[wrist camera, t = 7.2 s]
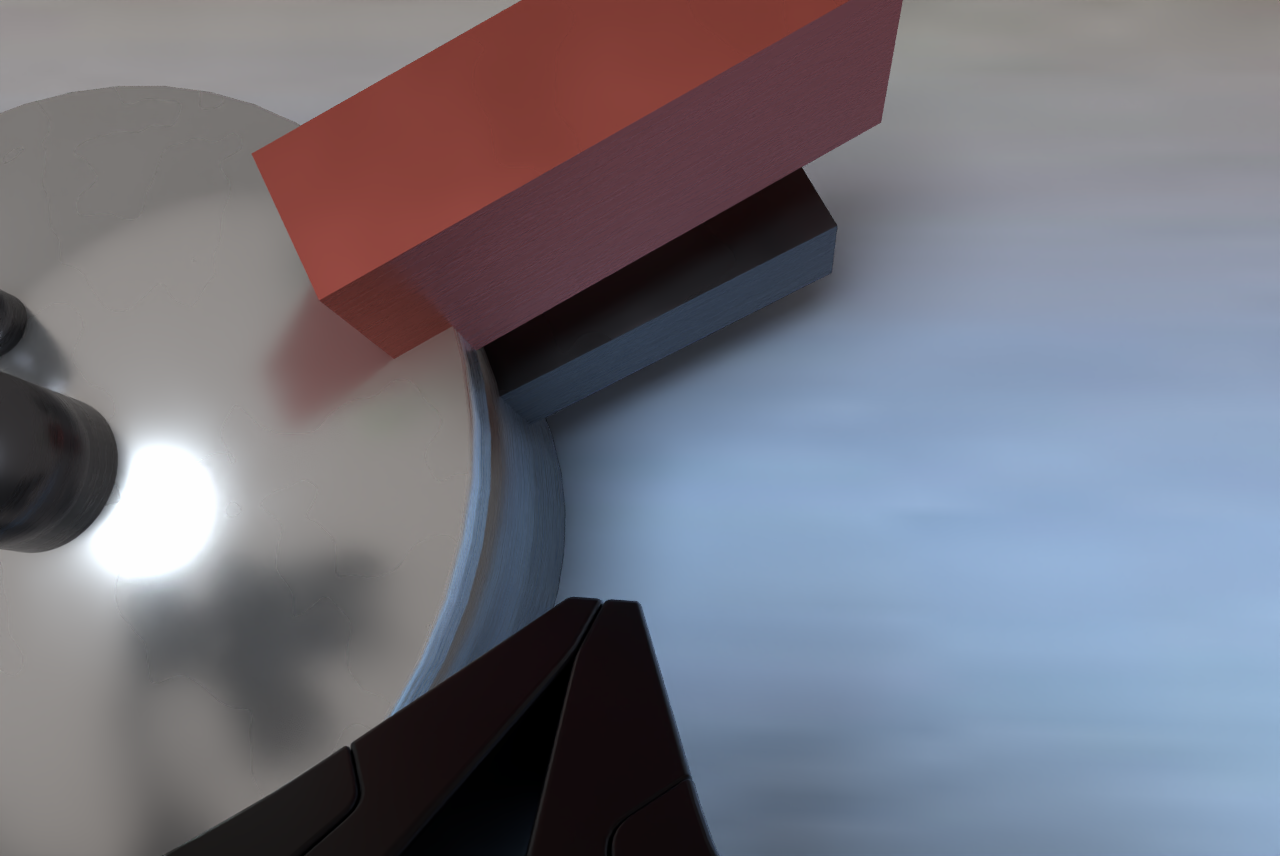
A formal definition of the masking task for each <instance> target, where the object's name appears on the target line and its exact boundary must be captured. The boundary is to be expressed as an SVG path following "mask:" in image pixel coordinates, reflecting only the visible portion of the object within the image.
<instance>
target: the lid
mask: <svg viewBox="0 0 1280 856" xmlns="http://www.w3.org/2000/svg"><path fill="white" fill-rule="evenodd" d="M902 1H903V0H521V1H519V2H518V3H516V4H514V5H512V6H511V7H509V8H507V9H505V10H504V11H502V12H500V13H498V14H496V15H495V16H493V17H491V18H489V19H488V20H486V21H484V22H482V23H481V24H479V25H477V26H475V27H474V28H472V29H470V30H468V31H467V32H465V33H463V34H461V35H459V36H458V37H456V38H454V39H452V40H451V41H449V42H447V43H445V44H444V45H442V46H440V47H438V48H437V49H435V50H433V51H431V52H430V53H428V54H426V55H424V56H423V57H421V58H419V59H417V60H415V61H414V62H412V63H410V64H408V65H407V66H405V67H403V68H401V69H400V70H398V71H396V72H394V73H393V74H391V75H389V76H387V77H386V78H384V79H382V80H380V81H378V82H377V83H375V84H373V85H371V86H370V87H368V88H366V89H364V90H363V91H361V92H359V93H357V94H356V95H354V96H352V97H350V98H349V99H347V100H345V101H343V102H342V103H340V104H338V105H336V106H334V107H333V108H331V109H329V110H327V111H326V112H324V113H322V114H320V115H319V116H317V117H315V118H313V119H312V120H310V121H308V122H306V123H305V124H303V125H301V126H300V125H299V124H297V123H295V122H293V121H291V120H289V119H286V118H284V117H282V116H279V115H277V114H275V113H273V112H270V111H268V110H266V109H264V108H261V107H259V106H257V105H255V104H251V103H248V102H244V101H240V100H237V99H233V98H230V97H226V96H222V95H219V94H215V93H211V92H205V91H198V90H190V89H182V88H175V87H167V86H117V87H109V88H101V89H93V90H86V91H78V92H71V93H67V94H63V95H59V96H55V97H51V98H47V99H43V100H39V101H35V102H31V103H27V104H24V105H21V106H18V107H16V108H13V109H10V110H8V111H5V112H3V113H0V856H162V855H164V854H166V853H167V852H169V851H171V850H173V849H174V848H176V847H178V846H180V845H182V844H183V843H185V842H187V841H189V840H191V839H192V838H194V837H196V836H198V835H199V834H201V833H203V832H205V831H207V830H208V829H210V828H212V827H214V826H216V825H217V824H219V823H221V822H223V821H224V820H226V819H228V818H229V817H231V816H233V815H235V814H236V813H238V812H240V811H241V810H243V809H245V808H247V807H248V806H250V805H252V804H254V803H255V802H257V801H259V800H260V799H262V798H264V797H266V796H267V795H269V794H271V793H272V792H274V791H275V790H277V789H279V788H280V787H282V786H283V785H285V784H286V783H288V782H290V781H291V780H293V779H294V778H296V777H297V776H299V775H301V774H302V773H304V772H305V771H307V770H309V769H310V768H312V767H313V766H315V765H316V764H318V763H319V762H321V761H322V760H324V759H325V758H327V757H328V756H330V755H331V754H333V753H334V752H336V751H337V750H339V749H340V748H342V747H343V746H349V747H350V745H351V743H352V742H353V741H354V740H356V739H357V738H359V737H360V736H362V735H363V734H365V733H366V732H368V731H369V730H371V729H372V728H374V727H375V726H377V725H378V724H380V723H381V722H383V721H384V720H386V719H387V718H389V717H390V716H392V715H393V714H395V713H396V712H398V711H399V710H401V709H402V708H404V707H405V706H407V705H408V704H410V703H411V702H413V701H414V700H416V699H417V698H419V697H420V696H422V695H423V694H425V693H426V692H428V690H429V688H430V686H431V685H432V683H433V681H434V679H435V677H436V675H437V674H438V672H439V670H440V668H441V666H442V665H443V663H444V661H445V659H446V656H447V654H448V651H449V649H450V646H451V644H452V641H453V639H454V636H455V634H456V631H457V629H458V626H459V624H460V621H461V619H462V616H463V614H464V611H465V609H466V606H467V603H468V600H469V596H470V592H471V588H472V585H473V581H474V577H475V573H476V569H477V566H478V562H479V558H480V554H481V551H482V547H483V540H484V533H485V525H486V518H487V511H488V503H489V496H490V482H491V431H490V423H489V415H488V407H487V399H486V391H485V383H484V378H483V374H482V370H481V367H480V363H479V359H478V355H477V352H476V350H478V349H480V348H481V347H483V346H485V345H487V344H489V343H490V342H492V341H494V340H496V339H497V338H499V337H501V336H503V335H505V334H506V333H508V332H510V331H512V330H513V329H515V328H517V327H519V326H521V325H522V324H524V323H526V322H528V321H529V320H531V319H533V318H535V317H536V316H538V315H540V314H542V313H544V312H545V311H547V310H549V309H551V308H552V307H554V306H556V305H558V304H560V303H561V302H563V301H565V300H567V299H568V298H570V297H572V296H574V295H576V294H577V293H579V292H581V291H583V290H584V289H586V288H588V287H590V286H592V285H593V284H595V283H597V282H599V281H600V280H602V279H604V278H606V277H607V276H609V275H611V274H613V273H615V272H616V271H618V270H620V269H622V268H623V267H625V266H627V265H629V264H631V263H632V262H634V261H636V260H638V259H639V258H641V257H643V256H645V255H647V254H648V253H650V252H652V251H654V250H655V249H657V248H659V247H661V246H662V245H664V244H666V243H668V242H670V241H671V240H673V239H675V238H677V237H678V236H680V235H682V234H684V233H686V232H687V231H689V230H691V229H693V228H694V227H696V226H698V225H700V224H702V223H703V222H705V221H707V220H709V219H710V218H712V217H714V216H716V215H718V214H719V213H721V212H723V211H725V210H726V209H728V208H730V207H732V206H733V205H735V204H737V203H739V202H741V201H742V200H744V199H746V198H748V197H749V196H751V195H753V194H755V193H757V192H758V191H760V190H762V189H764V188H765V187H767V186H769V185H771V184H773V183H774V182H776V181H778V180H780V179H781V178H783V177H785V176H787V175H789V174H790V173H792V172H794V171H796V170H797V169H799V168H801V167H803V166H804V165H806V164H808V163H810V162H812V161H813V160H815V159H817V158H819V157H820V156H822V155H824V154H826V153H828V152H829V151H831V150H833V149H835V148H836V147H838V146H840V145H842V144H844V143H845V142H847V141H849V140H851V139H852V138H854V137H856V136H858V135H860V134H861V133H863V132H865V131H867V130H868V129H870V128H872V127H874V126H875V125H877V124H879V123H881V119H882V114H883V108H884V102H885V97H886V91H887V86H888V80H889V74H890V69H891V63H892V57H893V52H894V46H895V40H896V35H897V29H898V24H899V18H900V12H901V7H902ZM350 749H351V748H350Z"/></svg>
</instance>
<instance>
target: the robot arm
mask: <svg viewBox="0 0 1280 856" xmlns="http://www.w3.org/2000/svg"><path fill="white" fill-rule="evenodd" d="M350 748H351V749H350ZM162 856H719V854H718V851H717V849H716V847H715V845H714V842H713V839H712V836H711V834H710V831H709V828H708V825H707V822H706V819H705V816H704V813H703V811H702V808H701V805H700V801H699V798H698V794H697V791H696V787H695V784H694V782H693V781H692V776H691V773H690V770H689V766H688V763H687V759H686V756H685V753H684V749H683V746H682V743H681V739H680V736H679V732H678V729H677V726H676V722H675V719H674V715H673V712H672V709H671V705H670V702H669V698H668V695H667V692H666V688H665V685H664V681H663V678H662V675H661V671H660V668H659V664H658V661H657V658H656V654H655V651H654V647H653V644H652V641H651V637H650V634H649V630H648V627H647V623H646V620H645V617H644V613H643V610H642V607H641V604H640V603H639V602H637V601H626V600H612V599H611V600H607V601H605V603H603V601H602V600H600V599H597V598H582V597H570V598H567V599H565V600H564V601H562V602H561V603H559V604H558V605H556V606H555V607H553V608H552V609H550V610H549V611H547V612H546V613H544V614H543V615H541V616H540V617H538V618H537V619H535V620H534V621H532V622H531V623H529V624H528V625H526V626H525V627H523V628H522V629H520V630H519V631H517V632H516V633H514V634H513V635H511V636H510V637H508V638H507V639H505V640H504V641H502V642H501V643H499V644H498V645H496V646H495V647H493V648H492V649H490V650H489V651H488V652H486V653H485V654H483V655H482V656H480V657H479V658H477V659H476V660H474V661H473V662H471V663H470V664H468V665H467V666H465V667H464V668H462V669H461V670H459V671H458V672H456V673H455V674H453V675H452V676H450V677H449V678H447V679H446V680H444V681H443V682H441V683H440V684H438V685H437V686H435V687H434V688H432V689H431V690H429V691H428V692H426V693H425V694H423V695H422V696H420V697H419V698H417V699H416V700H414V701H413V702H411V703H410V704H408V705H407V706H405V707H404V708H402V709H401V710H399V711H398V712H396V713H395V714H393V715H392V716H390V717H389V718H387V719H386V720H384V721H383V722H381V723H380V724H378V725H377V726H375V727H374V728H372V729H371V730H369V731H368V732H366V733H365V734H363V735H362V736H360V737H359V738H357V739H356V740H354V741H353V742H352V743H351V745H350V747H349V746H343V747H342V748H340V749H339V750H337V751H336V752H334V753H333V754H331V755H330V756H328V757H327V758H325V759H324V760H322V761H321V762H319V763H318V764H316V765H315V766H313V767H312V768H310V769H309V770H307V771H305V772H304V773H302V774H301V775H299V776H297V777H296V778H294V779H293V780H291V781H290V782H288V783H286V784H285V785H283V786H282V787H280V788H279V789H277V790H275V791H274V792H272V793H271V794H269V795H267V796H266V797H264V798H262V799H260V800H259V801H257V802H255V803H254V804H252V805H250V806H248V807H247V808H245V809H243V810H241V811H240V812H238V813H236V814H235V815H233V816H231V817H229V818H228V819H226V820H224V821H223V822H221V823H219V824H217V825H216V826H214V827H212V828H210V829H208V830H207V831H205V832H203V833H201V834H199V835H198V836H196V837H194V838H192V839H191V840H189V841H187V842H185V843H183V844H182V845H180V846H178V847H176V848H174V849H173V850H171V851H169V852H167V853H166V854H164V855H162Z"/></svg>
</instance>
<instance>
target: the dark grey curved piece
mask: <svg viewBox="0 0 1280 856" xmlns="http://www.w3.org/2000/svg"><path fill="white" fill-rule="evenodd" d="M836 232H837V224H836V223H835V221H834V220H833V218H832V216H831V215H830V213H829V211H828V210H827V208H826V206H825V205H824V203H823V201H822V200H821V198H820V197H819V195H818V193H817V192H816V190H815V188H814V187H813V185H812V183H811V182H810V180H809V178H808V177H807V175H806V173H805V172H804V170H803V169H802V167H801V168H799V169H797V170H796V171H794V172H792V173H790V174H789V175H787V176H785V177H783V178H781V179H780V180H778V181H776V182H774V183H773V184H771V185H769V186H767V187H765V188H764V189H762V190H760V191H758V192H757V193H755V194H753V195H751V196H749V197H748V198H746V199H744V200H742V201H741V202H739V203H737V204H735V205H733V206H732V207H730V208H728V209H726V210H725V211H723V212H721V213H719V214H718V215H716V216H714V217H712V218H710V219H709V220H707V221H705V222H703V223H702V224H700V225H698V226H696V227H694V228H693V229H691V230H689V231H687V232H686V233H684V234H682V235H680V236H678V237H677V238H675V239H673V240H671V241H670V242H668V243H666V244H664V245H662V246H661V247H659V248H657V249H655V250H654V251H652V252H650V253H648V254H647V255H645V256H643V257H641V258H639V259H638V260H636V261H634V262H632V263H631V264H629V265H627V266H625V267H623V268H622V269H620V270H618V271H616V272H615V273H613V274H611V275H609V276H607V277H606V278H604V279H602V280H600V281H599V282H597V283H595V284H593V285H592V286H590V287H588V288H586V289H584V290H583V291H581V292H579V293H577V294H576V295H574V296H572V297H570V298H568V299H567V300H565V301H563V302H561V303H560V304H558V305H556V306H554V307H552V308H551V309H549V310H547V311H545V312H544V313H542V314H540V315H538V316H536V317H535V318H533V319H531V320H529V321H528V322H526V323H524V324H522V325H521V326H519V327H517V328H515V329H513V330H512V331H510V332H508V333H506V334H505V335H503V336H501V337H499V338H497V339H496V340H494V341H492V342H490V343H489V344H487V345H485V346H483V347H481V348H480V349H478V350H476V352H477V355H478V359H479V363H480V367H481V370H482V374H483V378H484V383H485V391H486V399H487V407H488V415H489V423H490V431H491V482H490V496H489V503H488V511H487V518H486V525H485V533H484V540H483V547H482V551H481V554H480V558H479V562H478V566H477V569H476V573H475V577H474V581H473V585H472V588H471V592H470V596H469V600H468V603H467V606H466V609H465V611H464V614H463V616H462V619H461V621H460V624H459V626H458V629H457V631H456V634H455V636H454V639H453V641H452V644H451V646H450V649H449V651H448V654H447V656H446V659H445V661H444V663H443V665H442V666H441V668H440V670H439V672H438V674H437V675H436V677H435V679H434V681H433V683H432V685H431V686H430V688H429V690H431V689H432V688H434V687H435V686H437V685H438V684H440V683H441V682H443V681H444V680H446V679H447V678H449V677H450V676H452V675H453V674H455V673H456V672H458V671H459V670H461V669H462V668H464V667H465V666H467V665H468V664H470V663H471V662H473V661H474V660H476V659H477V658H479V657H480V656H482V655H483V654H485V653H486V652H488V651H489V650H490V649H492V648H493V647H495V646H496V645H498V644H499V643H501V642H502V641H504V640H505V639H507V638H508V637H510V636H511V635H513V634H514V633H516V632H517V631H519V630H520V629H522V628H523V627H525V626H526V625H528V624H529V623H531V622H532V621H534V620H535V619H537V618H538V617H540V616H541V615H543V614H544V613H546V612H547V611H549V610H550V609H552V608H553V606H554V603H555V599H556V596H557V592H558V586H559V580H560V573H561V567H562V561H563V555H564V533H565V506H564V496H563V485H562V475H561V470H560V466H559V462H558V457H557V453H556V449H555V445H554V440H553V437H552V434H551V431H550V429H549V426H548V424H547V421H546V417H548V416H550V415H552V414H553V413H555V412H557V411H559V410H561V409H563V408H565V407H567V406H569V405H571V404H573V403H575V402H577V401H579V400H581V399H583V398H585V397H587V396H589V395H591V394H593V393H595V392H597V391H599V390H601V389H603V388H605V387H607V386H609V385H611V384H613V383H615V382H617V381H619V380H621V379H623V378H625V377H627V376H629V375H631V374H633V373H635V372H637V371H639V370H640V369H642V368H644V367H646V366H648V365H650V364H652V363H654V362H656V361H658V360H660V359H662V358H664V357H666V356H668V355H670V354H672V353H674V352H676V351H678V350H680V349H682V348H684V347H686V346H688V345H690V344H692V343H694V342H696V341H698V340H700V339H702V338H704V337H706V336H708V335H710V334H712V333H714V332H716V331H718V330H720V329H722V328H724V327H725V326H727V325H729V324H731V323H733V322H735V321H737V320H739V319H741V318H743V317H745V316H747V315H749V314H751V313H753V312H755V311H757V310H759V309H761V308H763V307H765V306H767V305H769V304H771V303H773V302H775V301H777V300H779V299H781V298H783V297H785V296H787V295H789V294H791V293H793V292H795V291H797V290H799V289H801V288H803V287H805V286H807V285H809V284H811V283H812V282H814V281H816V280H818V279H820V278H822V277H824V276H826V275H828V274H830V273H832V265H833V257H834V249H835V240H836ZM429 690H428V691H429Z"/></svg>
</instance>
